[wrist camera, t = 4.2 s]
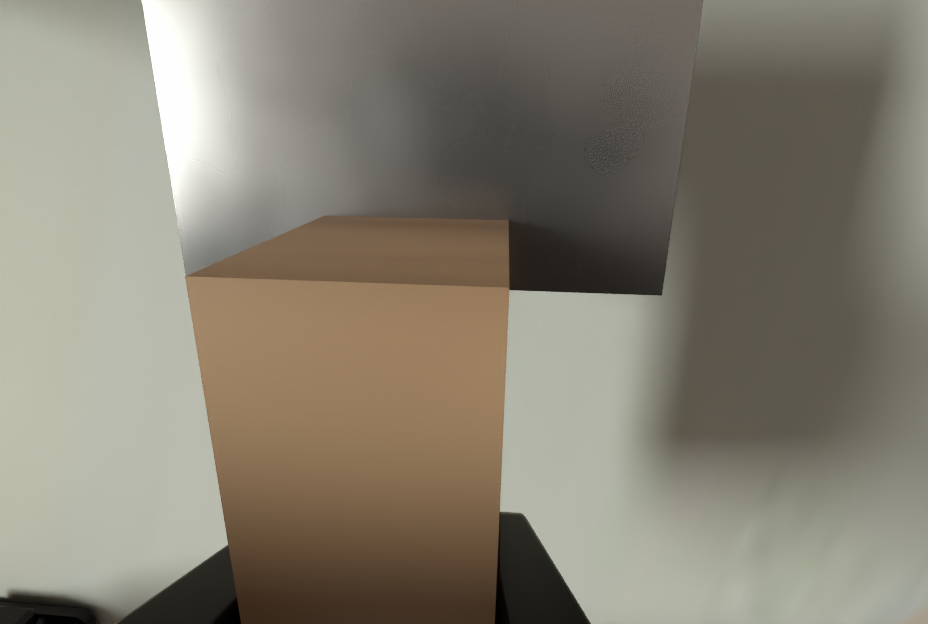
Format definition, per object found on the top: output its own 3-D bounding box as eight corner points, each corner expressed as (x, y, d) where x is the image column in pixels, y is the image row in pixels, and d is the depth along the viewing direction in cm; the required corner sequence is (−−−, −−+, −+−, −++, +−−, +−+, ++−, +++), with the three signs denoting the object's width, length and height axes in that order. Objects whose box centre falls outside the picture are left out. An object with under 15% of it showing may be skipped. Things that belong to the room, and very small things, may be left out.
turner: (599, 668, 11) (651, 965, 7) (261, 639, 11) (134, 901, 7) (717, -218, 6) (1062, -798, 2) (139, -199, 7) (-364, -657, 3)
